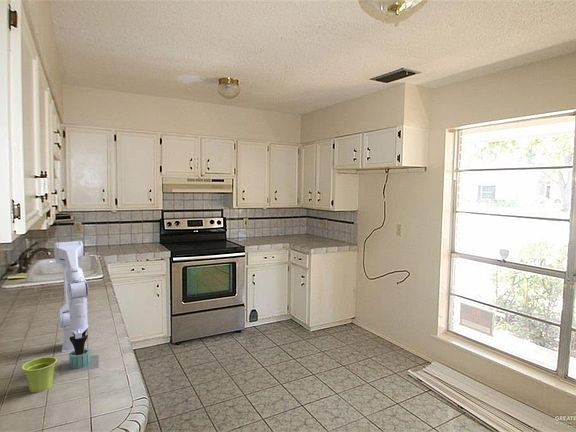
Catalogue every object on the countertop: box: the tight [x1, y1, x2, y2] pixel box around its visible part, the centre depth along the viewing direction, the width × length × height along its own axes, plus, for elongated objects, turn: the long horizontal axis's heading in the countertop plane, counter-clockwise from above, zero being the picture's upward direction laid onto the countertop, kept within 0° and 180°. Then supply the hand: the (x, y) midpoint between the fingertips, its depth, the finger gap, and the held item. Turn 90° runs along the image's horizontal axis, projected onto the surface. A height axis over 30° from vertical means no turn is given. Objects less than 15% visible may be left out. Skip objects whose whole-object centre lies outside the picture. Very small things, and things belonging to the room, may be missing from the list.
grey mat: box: [60, 354, 100, 376], centre depth 135 cm, size 12×12×1 cm
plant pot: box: [21, 356, 58, 394], centre depth 119 cm, size 9×9×9 cm
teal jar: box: [68, 347, 92, 369], centre depth 135 cm, size 7×7×5 cm
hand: (79, 350), depth 135 cm, fingers open, 7 cm apart
